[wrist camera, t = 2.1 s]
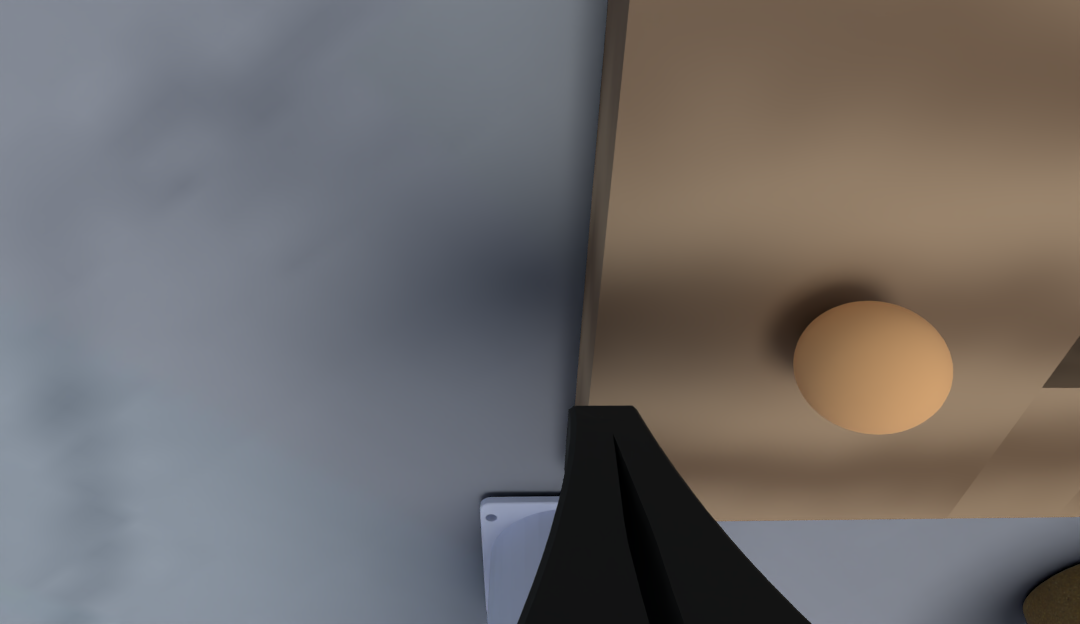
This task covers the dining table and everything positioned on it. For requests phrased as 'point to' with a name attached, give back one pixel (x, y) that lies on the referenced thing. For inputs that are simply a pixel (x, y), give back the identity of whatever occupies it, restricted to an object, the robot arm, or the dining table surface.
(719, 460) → the brown wooden flat block
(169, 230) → the dining table surface
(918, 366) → the ball
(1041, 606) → the plant pot
